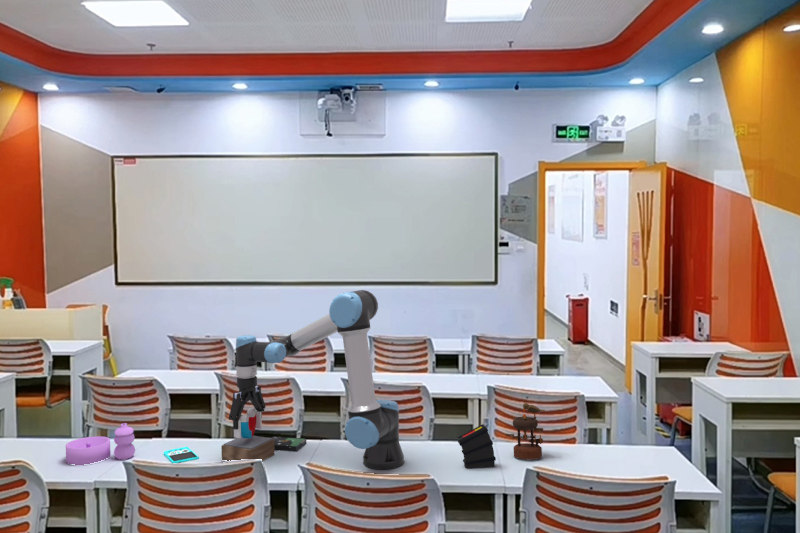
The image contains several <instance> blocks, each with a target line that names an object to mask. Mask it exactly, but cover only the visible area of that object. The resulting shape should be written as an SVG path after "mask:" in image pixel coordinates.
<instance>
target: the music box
mask: <svg viewBox="0 0 800 533" xmlns="http://www.w3.org/2000/svg"><path fill="white" fill-rule="evenodd" d="M522 408H523V409H522V412H526V410H527V411H528V412H529V413H533V415H534V416H527V415H526V413H523V414H522V416H517V417H516V416H515V418H514V419H513V420H512V426H513V427H514V429H515V430H516V431H517V435H515V434H514V433H511V434H510V433H508V434H507V433H506V434H505V436H508V437H509V436H511V438H512V439H517V444H515V445H514V446H513V457H514V458H517V459H522V460H537V459H538V460H539V459H541V458H543V448H542V447H541V446H540V445H542V444H543V442H544V440H543V439H544V438H542V434H539V438H537V437H536V436H537V435H536V434H534V432H540V433H541V432H544V428H543V427H538V426H539V422H538V420H537V417H536V414H537V413H539V416H541V414H540V412H545V411H546V409H540V408H539V406H538V407H537V406H536V405H533V404H530V403H528V402H524V403H523V404H522ZM521 431H523V435H521ZM528 431H530V436H529V435H528V434H527V432H528ZM522 438H523V440H524V441H527V440H528V439H529V441H528V442H522V441H521V439H522ZM521 442H522V443H521Z"/></svg>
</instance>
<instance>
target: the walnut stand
mask: <svg viewBox="0 0 800 533" xmlns="http://www.w3.org/2000/svg"><path fill="white" fill-rule="evenodd" d="M275 451H276V450H275V445H274V439H273V438H272V437H268V436H267V437H265V436H258V435H253V437H252V438H242V437H241V438H234V439H232V440H229V441H228V442H225V443H223V444H222V445H221V461H222V460H227V461H229V460H230V461H231V460H241V459H262V460H263V461H265V460H267V459H269V458H271V457H273V456H275V453H276V452H275Z"/></svg>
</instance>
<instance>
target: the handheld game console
mask: <svg viewBox="0 0 800 533" xmlns="http://www.w3.org/2000/svg"><path fill="white" fill-rule="evenodd" d="M163 453H164V454H163V455H164V457H165V458H166V459H167V458H168V459H169V460H168V459H167V460H168V461H169V462H171V464H172V463H177V464H181V463H186V462H190V461H191V462H192V461H195V460H199V459H200V457H199V456H198V455H197V454H196V453H195V452H194V451H193V450H192V449H191V448H190V447H188V446H183V447H177V448H173V449H168V450H164V451H163Z"/></svg>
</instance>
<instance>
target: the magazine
mask: <svg viewBox="0 0 800 533" xmlns="http://www.w3.org/2000/svg"><path fill="white" fill-rule="evenodd" d="M457 443H458V445H459V446H460V447H461V453H462V454H463V459H462V462H463V465H464V467H465V469H481V468H495V466H496V465H495V464H496V463H495V461H496V460H497V458H496V456H495V450H494V447H493V445H494V442H493V441H492V439H491V436H490V433H489V430H488V428H487V426H485V425H484V424H483V423H482V424H479V425H478V426H477V427H474V428H472V429H471V430H469V431H466V432H465V433H463V434H461V435H459V436H457Z"/></svg>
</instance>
